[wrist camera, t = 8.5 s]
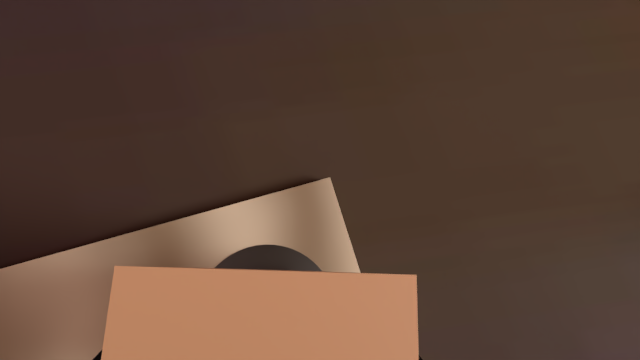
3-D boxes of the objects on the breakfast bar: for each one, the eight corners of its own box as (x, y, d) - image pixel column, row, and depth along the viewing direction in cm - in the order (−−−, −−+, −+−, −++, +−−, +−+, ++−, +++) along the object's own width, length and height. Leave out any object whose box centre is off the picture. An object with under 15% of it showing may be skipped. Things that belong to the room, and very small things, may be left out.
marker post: (315, 376, 15) (424, 628, 5) (209, 377, 15) (56, 659, 4) (318, 271, 16) (416, 274, 5) (219, 268, 16) (115, 266, 5)
